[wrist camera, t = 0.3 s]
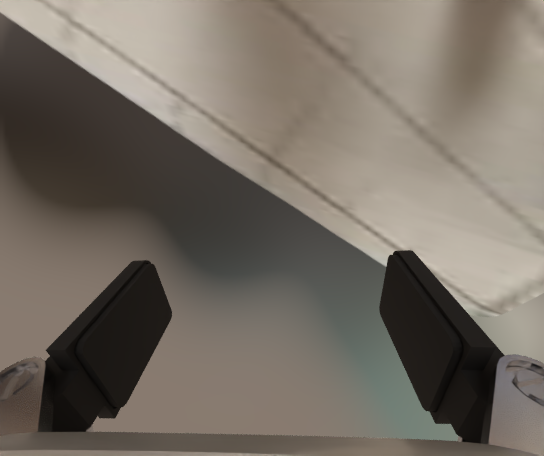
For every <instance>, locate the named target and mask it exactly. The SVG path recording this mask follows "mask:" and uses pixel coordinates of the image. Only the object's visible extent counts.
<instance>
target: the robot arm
mask: <svg viewBox="0 0 544 456" xmlns="http://www.w3.org/2000/svg"><path fill="white" fill-rule="evenodd" d="M380 314H381V317H382V319H383V322H384V324H385V326H386V328H387V330H388V332H389V335H390V337H391V339H392V341H393V344H394V346H395V348H396V350H397V352H398V355H399V357H400V359H401V361H402V363H403V366H404V368H405V370H406V372H407V374H408V377H409V379H410V381H411V383H412V385H413V388H414V390H415V392H416V394H417V396H418V399H419V401H420V403H421V405H422V407H423V408H424V409H425V410H426V411H430V413H431V415H432V417H433V420H434V422H435V423H436V424H451V425H452V427H453V428H454V430H455V432H456V434H457V435H458V436H459V437H458V441H442V440H420V439H398V438H367V437H329V436H293V435H292V436H291V435H247V434H243V435H242V434H197V433H138V432H135V433H133V432H94V431H93V422H94V421H95V419H96V417H97V416H98V417H99V418H115V417H116V416H117V414H118V412H119V410H120V408H121V407H123V406H124V405H125V404H126V403H127V401H128V400H129V398H130V396H131V394H132V392H133V390H134V388H135V386H136V385H137V383H138V381H139V379H140V377H141V375H142V373H143V371H144V369H145V367H146V366H147V364H148V362H149V360H150V358H151V356H152V354H153V352H154V350H155V349H156V347H157V345H158V343H159V341H160V339H161V337H162V335H163V333H164V331H165V329H166V328H167V326H168V324H169V322H170V320H171V317H172V311H171V308H170V305H169V303H168V300H167V297H166V295H165V292H164V289H163V286H162V284H161V281H160V278H159V276H158V273H157V271H156V268H155V266H154V265H153V264H151V262H149V261H146V260H144V261H133V262H131V263H130V264H129V265H128V266H127V267H126V268H125V269H124V270H123V271H122V272H121V273H120V274H119V275H118V276H117V277H116V279H114V280H113V281H112V282H111V284H110V285H109V286H108V287H107V288H106V289H105V290H104V291H103V292H102V293H101V294H100V295H99V296H98V297H97V298H96V299H95V300H94V301H93V302H92V303H91V304H90V305H89V306H88V307H87V308H86V309H85V311H83V312H82V314H80V315H79V317H78V318H77V319H76V320H75V321H74V322H73V323H72V324H71V325H70V326H69V327H68V328H67V329H66V330H65V331H64V332H63V333H62V334H61V335H60V336H59V337H58V338H57V339H56V340H55V341H54V342H53V343H52V344H51V345H50V346H49V347H48V349H47V350H46V351H47V352H48V354H49V355H50V357H49V358H48V359H47V360H46V361H45V360H43V359H42V358H40V357H32V358H27V359H24V360H21V361H19V362H16V363H14V364H12V365H11V366H9V367H7V368H5V369H4V370H2V371H1V372H0V456H544V363H542V362H540V361H538V360H535V359H532V358H529V357H526V356H521V355H506V356H505V355H504V354H503V353H502V352H501V351H500V350H499V349H498V347H497V346H496V345H495V344H494V343H493V342H492V341H491V340H490V339H489V337H488V336H487V335H486V334H485V333H484V332H483V330H482V329H481V328H480V327H479V326H478V325H477V324H476V322H475V321H474V320H473V319H472V318H471V317H470V315H469V314H468V313H467V312H466V311H465V310H464V309H463V307H462V306H461V305H460V304H459V303H458V302H457V301H456V299H455V298H454V297H453V296H452V295H451V294H450V293H449V291H448V290H447V289H446V288H445V287H444V286H443V285H442V284H441V283H440V282H439V280H438V279H437V278H436V277H435V276H434V275H433V273H432V272H431V271H430V270H429V269H428V268H427V267H426V265H425V264H424V263H423V262H422V261H421V260H420V259H419V257H418V256H417V255H416V254H415V253H414V252H413V251H411V250H408V251H395V252H394V253H393V255H389V257H388V262H387V267H386V273H385V279H384V285H383V290H382V296H381V301H380Z"/></svg>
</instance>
